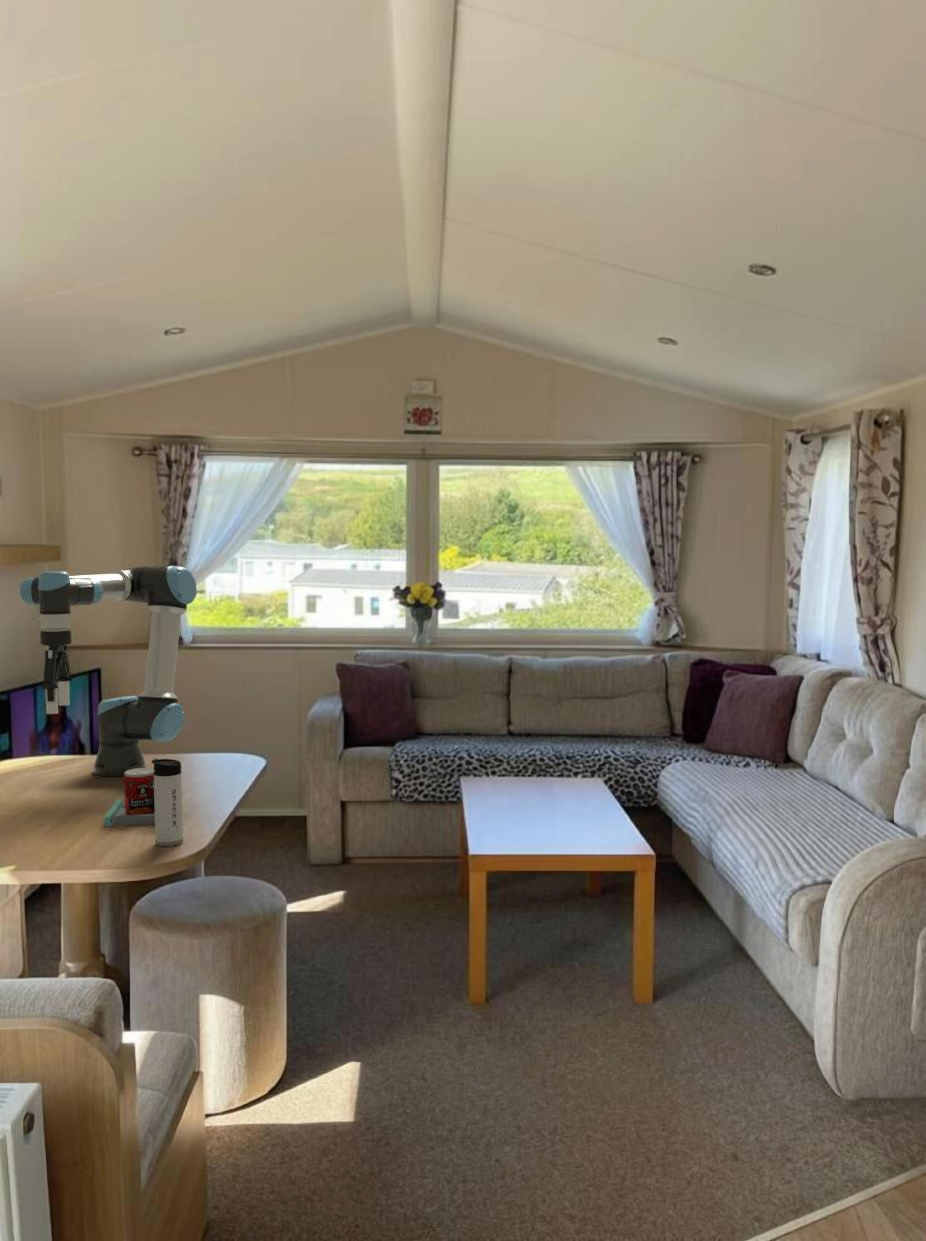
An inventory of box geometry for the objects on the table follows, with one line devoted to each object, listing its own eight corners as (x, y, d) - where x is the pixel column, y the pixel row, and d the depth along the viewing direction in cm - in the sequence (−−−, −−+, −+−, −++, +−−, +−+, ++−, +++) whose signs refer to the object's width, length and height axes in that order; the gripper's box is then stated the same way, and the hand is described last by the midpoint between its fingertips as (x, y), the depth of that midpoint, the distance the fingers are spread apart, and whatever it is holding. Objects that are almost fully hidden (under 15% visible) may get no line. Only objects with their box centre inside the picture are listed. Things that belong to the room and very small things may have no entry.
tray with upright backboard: (117, 807, 258) (116, 770, 257) (174, 804, 261) (174, 768, 260) (104, 826, 240) (103, 787, 240) (166, 823, 243) (165, 784, 242)
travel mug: (157, 839, 230) (155, 757, 228) (185, 838, 230) (183, 756, 229) (151, 847, 224) (148, 762, 222) (180, 846, 224) (178, 762, 223)
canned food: (127, 818, 245) (126, 776, 245) (123, 811, 252) (121, 769, 252) (158, 814, 249) (157, 772, 248) (153, 807, 256) (152, 766, 255)
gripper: (52, 626, 265) (54, 702, 267) (28, 634, 241) (31, 717, 243) (80, 625, 267) (83, 701, 268) (59, 633, 242) (62, 716, 244)
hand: (58, 709), depth 256 cm, fingers open, 13 cm apart
